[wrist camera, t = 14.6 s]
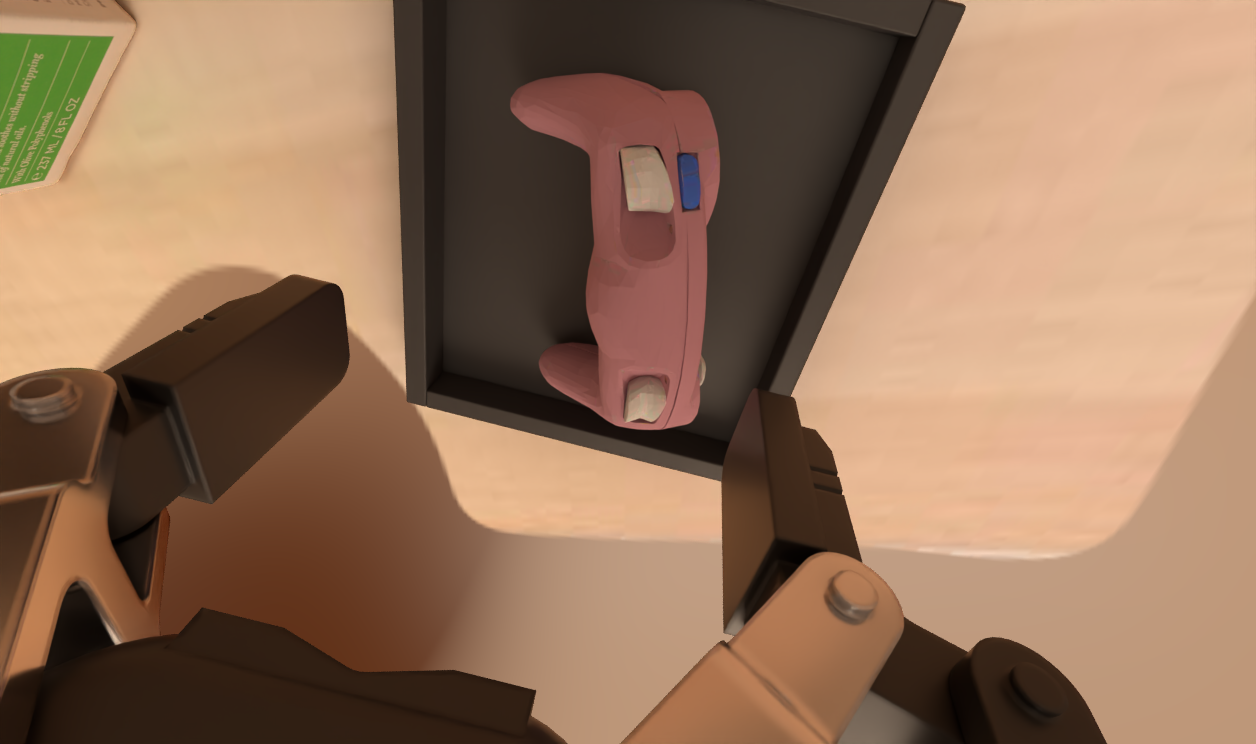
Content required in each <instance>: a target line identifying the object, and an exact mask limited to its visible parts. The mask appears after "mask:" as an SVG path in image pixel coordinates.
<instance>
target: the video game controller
mask: <svg viewBox="0 0 1256 744" xmlns="http://www.w3.org/2000/svg"><path fill="white" fill-rule="evenodd" d="M510 108H511V111H512V113H513V114H514V115H515V116H516V117H517V118H518V119H519V120H520V121H521V122H522V123H524V124H525V125H526V126H527V127H529V128H530V129H532V130H535V131H538V132H541V133H544V134H548V135H551V136H554V137H557V138H560V139H563V140H565V141H567V142H569V143H572V144H574V145H576V146H578V147H580V148H582V149H583V150H584V151H586V152H587V153H588V154H589V157H590V172H591V205H592V219H593V232H594V248H593V252H592V256H591V261H590V265H589V269H588V277H587V285H586V308H587V313H588V317H589V322H590V326H591V329H592V331H593V334H594V336H595V338H596V341H597V343H598V346H596V345H591V344H583V343H573V342H571V343H564V344H560V343H559V344H556V345H554V346H551V347H549V348H548V349H546V350H545V351H544V352H543V353H542V355H541V357H540V360H539V367H540V370H541V373H542V374H543V376H544V377H545V379H546V380H547V382H548V383H549V384H550V385H551V386H553V387H554V388H556V389H558V390H559V391H561V392H562V393H564V394H566V395H567V396H569V397H571V398H573V399H575V400H576V401H578V402H580V403H582V404H584V405H586V406H587V407H589V408H591V409H592V410H593V411H595V412H596V413H597V414H599V415H600V416H602V417H603V418H604V419H606V420H607V421H608V422H610V423H612V424H614V425H616V426H620V427H625V428H631V429H642V430H654V429H655V430H661V429H666V428H671V427H676V426H681V425H685V424H689V423H691V422H692V421H693V419H694V418H695V417H696V415H697V413H698V409H699V404H700V386H701V385H702V383H703V381H704V378H705V371H706V365H705V362H704V359H703V357H702V355H701V350H702V341H703V332H704V322H705V309H706V288H707V233H706V226H707V224H708V222H709V219H710V217H711V215H712V212H713V209H714V206H715V203H716V199H717V194H718V188H719V182H720V155H719V145H718V136H717V132H716V128H715V124H714V121H713V117H712V114H711V111H710V109H709V107H708V105H707V103H706V101H705V100H704V98H703V97H702V96H701V95H700V94H698V93H697V92H695V91H692V90H672V91H661V90H659V89H657V88H655V87H654V86H652V85H650V84H648V83H644V82H641V81H637V80H634V79H630V78H627V77H623V76H619V75H613V74H606V73H586V74H575V75H565V76H554V77H550V78H542V79H538V80H535V81H533V82H530V83H527V84H525V85H523V86H521V87H520V88H518V89H517V90H516V91H515V93H514V94H513V96H512V97H511V101H510Z"/></svg>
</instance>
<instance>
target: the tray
mask: <svg viewBox="0 0 1256 744" xmlns="http://www.w3.org/2000/svg"><path fill="white" fill-rule="evenodd" d="M393 7H394V37H395V66H396V96H397V125H398V155H399V184H400V214H401V243H402V273H403V302H404V332H405V361H406V391H407V402H410V403H413V404H417V405H421V406H427V407H429V408H433V409H437V410H441V411H445V412H449V413H453V414H457V415H461V416H465V417H469V418H473V419H477V420H480V421H484V422H488V423H492V424H496V425H500V426H504V427H508V428H512V429H516V430H520V431H524V432H528V433H532V434H536V435H540V436H544V437H548V438H552V439H556V440H559V441H563V442H567V443H571V444H575V445H579V446H583V447H587V448H591V449H595V450H599V451H603V452H607V453H611V454H615V455H619V456H623V457H627V458H631V459H635V460H639V461H642V462H646V463H650V464H654V465H658V466H662V467H666V468H670V469H674V470H678V471H682V472H686V473H690V474H694V475H698V476H702V477H706V478H710V479H714V480H718V481H721V480H722V469H723V464H724V459H725V455H726V452H727V449H728V446H729V444H730V441H731V439H732V436H733V434H734V431H735V429H736V427H737V424H738V422H739V419H740V417H741V414H742V412H743V409H744V407H745V404H746V402H747V399H748V397H749V395H750V393H751V392H752V390H753V389H754V388H757V389H761V390H765V391H769V392H773V393H777V394H781V395H786V396H791V394H792V392H793V390H794V387H795V385H796V383H797V381H798V378H799V376H800V374H801V372H802V370H803V367H804V365H805V363H806V361H807V359H808V356H809V354H810V352H811V350H812V347H813V345H814V343H815V341H816V339H817V336H818V334H819V332H820V330H821V328H822V325H823V323H824V321H825V319H826V317H827V314H828V312H829V310H830V308H831V305H832V303H833V301H834V299H835V297H836V294H837V292H838V290H839V288H840V286H841V283H842V281H843V279H844V277H845V275H846V272H847V270H848V268H849V266H850V263H851V261H852V259H853V257H854V255H855V252H856V250H857V248H858V246H859V244H860V241H861V239H862V237H863V235H864V233H865V230H866V228H867V226H868V224H869V221H870V219H871V217H872V215H873V213H874V210H875V208H876V206H877V204H878V202H879V199H880V197H881V195H882V193H883V190H884V188H885V186H886V184H887V182H888V179H889V177H890V175H891V173H892V171H893V168H894V166H895V164H896V162H897V160H898V157H899V155H900V153H901V151H902V148H903V146H904V144H905V142H906V140H907V137H908V135H909V133H910V131H911V129H912V126H913V124H914V122H915V120H916V118H917V115H918V113H919V111H920V109H921V106H922V104H923V102H924V100H925V98H926V95H927V93H928V91H929V89H930V87H931V84H932V82H933V80H934V78H935V75H936V73H937V71H938V69H939V67H940V64H941V62H942V60H943V58H944V56H945V53H946V51H947V49H948V47H949V45H950V42H951V40H952V38H953V36H954V33H955V31H956V29H957V27H958V25H959V22H960V20H961V18H962V16H963V14H964V11H965V7H966V6H965V5H964V4H961V3H957V2H953V1H949V0H393ZM586 73H606V74H613V75H619V76H623V77H627V78H630V79H634V80H637V81H641V82H644V83H648V84H650V85H652V86H654V87H655V88H657V89H659V90H661V91H672V90H692V91H695V92H697V93H698V94H700V95H701V96H702V97H703V98H704V100H705V101H706V103H707V105H708V107H709V109H710V111H711V114H712V117H713V121H714V124H715V128H716V132H717V136H718V145H719V155H720V182H719V188H718V194H717V199H716V203H715V206H714V209H713V212H712V215H711V217H710V219H709V222H708V224H707V226H706V233H707V288H706V309H705V322H704V332H703V341H702V350H701V355H702V357H703V359H704V362H705V365H706V371H705V378H704V381H703V383H702V385H701V386H700V404H699V409H698V413H697V415H696V417H695V418H694V419H693V421H692V422H691V423H689V424H685V425H681V426H676V427H671V428H666V429H661V430H655V429H654V430H642V429H631V428H625V427H620V426H616V425H614V424H612V423H610V422H608V421H607V420H606V419H604V418H603V417H602V416H600V415H599V414H597V413H596V412H595V411H593V410H592V409H591V408H589V407H587V406H586V405H584V404H582V403H580V402H578V401H576V400H575V399H573V398H571V397H569V396H567V395H566V394H564V393H562V392H561V391H559V390H558V389H556V388H554V387H553V386H551V385H550V384H549V383H548V382H547V380H546V379H545V377H544V376H543V374H542V373H541V370H540V367H539V360H540V357H541V355H542V353H543V352H544V351H545V350H546V349H548V348H549V347H551V346H554V345H556V344H559V343H560V344H564V343H571V342H573V343H583V344H591V345H596V346H598V343H597V341H596V338H595V336H594V334H593V331H592V329H591V326H590V322H589V317H588V313H587V308H586V285H587V277H588V269H589V265H590V261H591V256H592V252H593V248H594V232H593V219H592V205H591V172H590V157H589V154H588V153H587V152H586V151H584V150H583V149H582V148H580V147H578V146H576V145H574V144H572V143H569V142H567V141H565V140H563V139H560V138H557V137H554V136H551V135H548V134H544V133H541V132H538V131H535V130H532V129H530V128H529V127H527V126H526V125H525V124H524V123H522V122H521V121H520V120H519V119H518V118H517V117H516V116H515V115H514V114H513V113H512V111H511V108H510V101H511V97H512V96H513V94H514V93H515V91H516V90H517V89H518V88H520V87H521V86H523V85H525V84H527V83H530V82H533V81H535V80H538V79H542V78H550V77H554V76H565V75H575V74H586Z"/></svg>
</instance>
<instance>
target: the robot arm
mask: <svg viewBox="0 0 1256 744" xmlns="http://www.w3.org/2000/svg"><path fill="white" fill-rule="evenodd" d="M349 356H350V354H349V343H348V334H347V324H346V314H345V305H344V297H343V293H342V290H341V288H340V287H339V286H338V285H336V284H333V283H329V282H325V281H321V280H317V279H313V278H309V277H305V276H301V275H290V276H288V277H286V278H284V279H283V280H281V281H279V282H278V283H276V284H274V285H273V286H271V287H269V288H267V289H266V290H264V291H262V292H260V293H257V294H253V295H250V296H246V297H243V298H239V299H236V300H233V301H229V302H227V303H225V304H223V305H222V306H220V307H218V308H216V309H214V310H213V311H211V312H209V313H207V314H206V315H204V318H203V319H200V318H198V319H197V320H195V321H193V322H191V323H190V324H188V325H186V326H185V327H183V330H182V331H180V330H177V331H175V332H174V333H172V334H170V335H168V336H167V337H165V338H163V339H161V340H159V341H158V342H156V343H154V344H153V345H151V346H149V347H147V348H145V349H143V350H142V351H140V352H138V353H136V354H135V355H133V356H131V357H129V358H128V359H126V360H124V361H122V362H120V363H119V364H117V365H115V366H113V367H112V368H110V369H108V370H106V371H104V372H100V371H97V370H92V369H85V368H60V369H51V370H44V371H39V372H34V373H30V374H26V375H22V376H19V377H16V378H13V379H10V380H8V381H5V382H3V383H1V384H0V744H567V743H566V742H565V740H564V739H562V738H561V737H560V736H559V735H558V734H556V733H555V732H554V731H553V730H552V729H550V728H549V727H548V726H547V725H545V724H543V723H542V722H540V721H538V720H537V719H535V718H534V717H532V716H531V713H532V708H533V704H534V699H535V694H536V690H532V689H528V688H524V687H520V686H516V685H512V684H508V683H504V682H500V681H496V680H492V679H488V678H484V677H480V676H476V675H472V674H468V673H464V672H460V671H455V670H440V671H439V670H436V671H398V672H397V671H396V672H359V671H355V670H352V669H350V668H348V667H346V666H345V665H343V664H341V663H340V662H338V661H337V660H335V659H333V658H332V657H330V656H329V655H327V654H325V653H324V652H322V651H320V650H319V649H317V648H316V647H314V646H312V645H311V644H309V643H308V642H306V641H304V640H303V639H301V638H299V637H298V636H296V635H295V634H293V633H291V632H290V631H288V630H287V629H285V628H282V627H278V626H274V625H270V624H266V623H262V622H258V621H254V620H250V619H246V618H242V617H238V616H234V615H230V614H226V613H222V612H218V611H214V610H210V609H206V608H201V609H200V611H199V612H198V613H197V614H196V615H195V616H194V617H193V618H192V620H191V621H190V622H189V623H188V624H187V625H186V626H185V628H184V629H183V630H182V631H181V632H180V633H179V634H171V635H163V636H161V632H160V620H159V619H160V606H161V597H162V588H163V580H164V571H165V562H166V553H167V544H168V535H169V526H170V516H169V513H168V511H167V508H166V506H168V505H169V504H170V503H171V502H172V501H173V500H174V499H175V498H177V497H178V496H181V497H185V498H189V499H193V500H197V501H201V502H205V503H209V504H213V503H214V502H215V501H216V500H217V499H218V498H219V497H220V496H221V495H222V494H223V493H224V492H225V491H226V490H228V488H230V487H231V486H232V485H233V484H234V483H235V482H236V481H237V480H238V479H239V478H240V477H241V476H242V475H243V474H244V473H245V472H247V471H248V470H249V469H250V468H251V467H252V466H253V465H254V464H255V463H256V462H257V461H258V460H259V459H260V458H261V457H262V456H263V455H264V454H265V453H267V452H268V451H269V450H270V449H271V448H272V447H273V446H274V445H275V444H276V443H277V442H278V441H279V440H280V439H281V438H282V437H283V436H285V434H287V433H288V432H289V431H290V430H291V429H292V428H293V427H294V426H295V425H296V424H297V423H298V422H299V421H300V420H301V419H302V418H304V416H306V415H307V414H308V413H309V412H310V411H311V410H312V409H313V408H314V407H315V406H316V405H317V404H318V403H319V402H320V401H321V400H322V399H324V398H325V396H327V395H328V394H329V393H330V392H331V391H332V390H333V389H334V388H335V387H336V386H337V385H338V384H339V383H340V382H341V380H342V379H343V377H344V375H345V373H346V371H347V368H348V364H349ZM837 473H838V472H837V468H836V465H835V461H834V457H833V454H832V451H831V449H830V448H829V447H828V446H827V444H826V443H825V442H824V440H823V439H822V438H821V436H820V435H819V434H818V432H817V431H816V430H814V429H809V428H805V427H801V424H800V419H799V414H798V410H797V405H796V401H795V399H794V398H793V397H790V396H786V395H781V394H777V393H773V392H769V391H765V390H761V389H757V388H754V389H753V390H752V392H751V393H750V395H749V397H748V399H747V402H746V404H745V407H744V409H743V412H742V414H741V417H740V419H739V422H738V424H737V427H736V429H735V431H734V434H733V436H732V439H731V441H730V444H729V446H728V449H727V452H726V455H725V459H724V464H723V469H722V480H721V483H722V550H723V553H722V554H723V620H724V621H723V622H724V623H723V624H724V633H725V634H730V635H733V636H734V637H733V638H732V639H731V640H730V641H729V642H728V643H726V642H725V641H720V642H719V643H717V644H716V645H715V646H714V647H713V648H712V649H711V650H710V651H709V652H708V653H707V654H706V655H705V656H704V657H703V658H702V659H701V660H700V661H699V662H698V663H697V664H696V665H695V666H694V667H693V668H692V669H691V670H690V671H689V672H688V674H687V675H685V676H684V678H683V679H682V680H681V681H680V682H679V683H678V684H677V685H676V686H675V687H674V688H673V689H672V690H671V691H670V692H669V693H668V694H667V695H666V696H665V697H664V698H663V700H662V701H661V702H660V703H659V704H658V705H657V706H656V707H655V708H654V709H653V710H652V711H651V712H650V713H649V714H648V715H647V716H646V717H645V718H644V719H643V720H642V721H641V722H640V723H639V725H638V726H637V727H636V728H635V729H634V730H633V731H632V732H631V733H630V734H629V735H628V736H627V737H626V738H625V739H624V740H623V741H622V742H621V743H620V744H1107V743H1106V741H1105V739H1104V737H1103V735H1102V733H1101V731H1100V729H1099V727H1098V725H1097V723H1096V721H1095V719H1094V717H1093V715H1092V713H1091V711H1090V709H1089V707H1088V706H1087V704H1086V702H1085V701H1084V699H1083V698H1082V696H1081V695H1080V693H1079V692H1078V691H1077V689H1076V688H1075V687H1074V686H1073V685H1072V683H1071V682H1070V681H1069V680H1068V679H1067V678H1066V677H1065V676H1064V675H1063V674H1062V673H1061V672H1060V671H1059V670H1058V669H1057V668H1056V667H1055V666H1053V665H1052V664H1051V663H1050V662H1049V661H1047V660H1046V659H1045V658H1043V657H1042V656H1041V655H1039V654H1038V653H1036V652H1034V651H1033V650H1031V649H1029V648H1028V647H1026V646H1024V645H1022V644H1019V643H1017V642H1014V641H1011V640H1008V639H1004V638H996V637H992V638H985V639H983V640H981V641H979V642H978V643H977V644H976V645H975V646H974V647H973V648H972V649H971V650H970V651H969V652H967V651H965V650H963V649H961V648H959V647H957V646H955V645H954V644H952V643H950V642H948V641H946V640H944V639H942V638H940V637H938V636H937V635H935V634H933V633H931V632H929V631H927V630H925V629H923V628H921V627H920V626H918V625H916V624H914V623H913V622H911V621H909V620H908V619H906V618H905V617H904V615H903V611H902V608H901V606H900V604H899V601H898V599H897V597H896V596H895V594H894V592H893V591H892V589H891V588H890V587H889V586H888V584H887V583H886V582H885V581H884V580H883V579H882V578H881V577H880V576H879V575H878V574H876V572H874V571H873V570H872V569H871V568H869V567H868V566H866V565H865V564H863V563H862V559H861V555H860V552H859V548H858V544H857V541H856V537H855V534H854V530H853V526H852V523H851V519H850V515H849V512H848V508H847V505H846V501H845V497H844V495H842V491H843V490H842V486H841V483H840V479H839V477H837Z"/></svg>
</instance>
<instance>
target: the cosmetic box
mask: <svg viewBox="0 0 1256 744" xmlns="http://www.w3.org/2000/svg"><path fill="white" fill-rule="evenodd" d="M135 30H136V22H135V20H134V19H133V18H132V17H131V16H130V15H129V14H128V13H127V12H126V11H125V10H124V9H123V8H122V7H121V6H120V5H119V4H118V3H117V2H116V1H115V0H0V195H3V194H8V193H14V192H20V191H25V190H31V189H36V188H41V187H46V186H51V185H54V184H55V183H57V182H58V181H59V180H60V178H61V176H62V174H63V172H64V170H65V168H66V165H67V162H68V159H69V158H70V156H71V154H72V153H73V151H74V150H75V148H76V146H77V145H78V143H79V141H80V139H81V137H82V135H83V133H84V131H85V129H86V127H87V125H88V122H89V120H90V118H91V116H92V114H93V112H94V110H95V108H96V106H97V104H98V102H99V100H100V98H101V96H102V94H103V92H104V90H105V88H106V86H107V84H108V82H109V80H110V78H111V76H112V74H113V72H114V70H115V68H116V66H117V64H118V63H119V61H120V58H121V56H122V54H123V53H124V51H125V49H126V47H127V46H128V44H129V42H130V40H131V38H132V36H133V34H134V33H135Z"/></svg>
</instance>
